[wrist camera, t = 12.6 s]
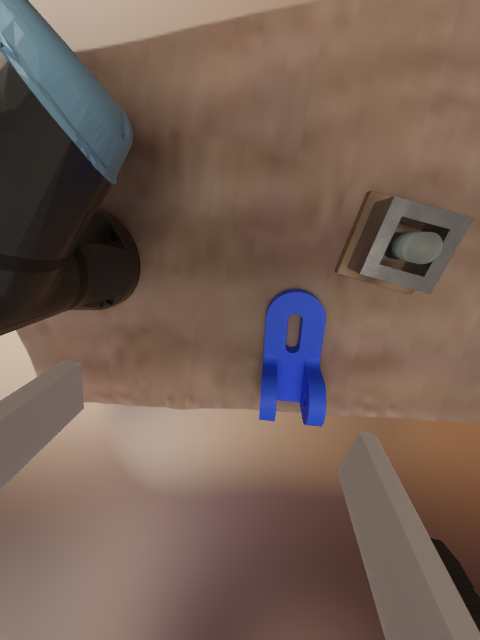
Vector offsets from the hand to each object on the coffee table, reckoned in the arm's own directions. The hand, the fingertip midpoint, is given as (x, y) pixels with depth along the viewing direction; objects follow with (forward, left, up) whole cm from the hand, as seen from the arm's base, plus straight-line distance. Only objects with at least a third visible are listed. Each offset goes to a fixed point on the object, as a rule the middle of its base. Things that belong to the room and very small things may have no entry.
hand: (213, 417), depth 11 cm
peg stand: (+15, +11, -26) cm, 32 cm away
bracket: (+8, -6, -26) cm, 28 cm away
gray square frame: (+15, +11, -25) cm, 31 cm away
